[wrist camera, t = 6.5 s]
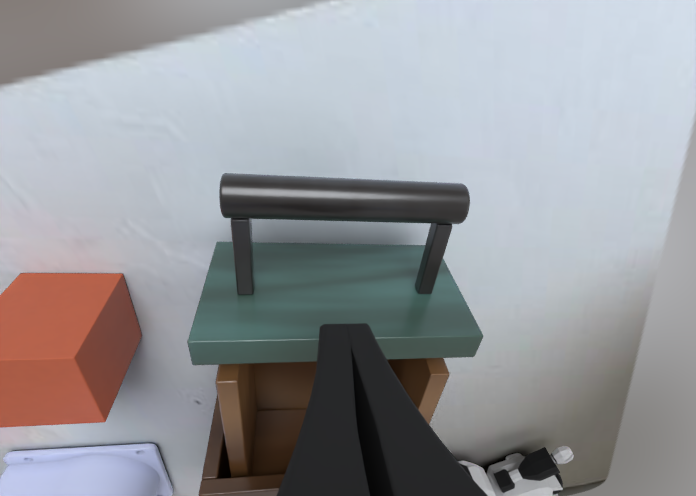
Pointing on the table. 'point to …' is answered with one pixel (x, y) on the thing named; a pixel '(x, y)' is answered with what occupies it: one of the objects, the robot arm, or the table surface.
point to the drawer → (324, 303)
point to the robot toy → (522, 474)
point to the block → (64, 347)
